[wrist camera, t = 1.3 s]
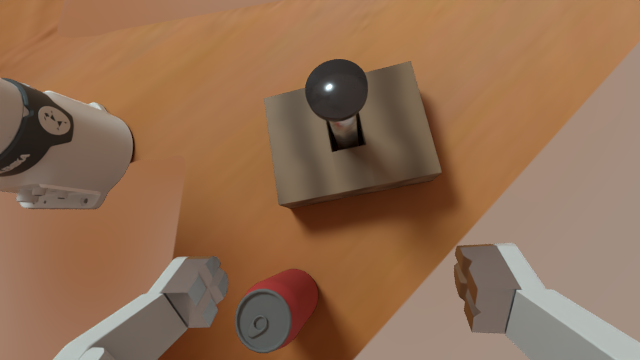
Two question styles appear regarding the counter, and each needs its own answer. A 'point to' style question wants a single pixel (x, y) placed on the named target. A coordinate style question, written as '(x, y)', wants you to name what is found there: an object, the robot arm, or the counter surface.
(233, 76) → the counter surface
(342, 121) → the steel peg
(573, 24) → the counter surface
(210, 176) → the counter surface
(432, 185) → the counter surface
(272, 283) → the beer can
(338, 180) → the brown flat block
